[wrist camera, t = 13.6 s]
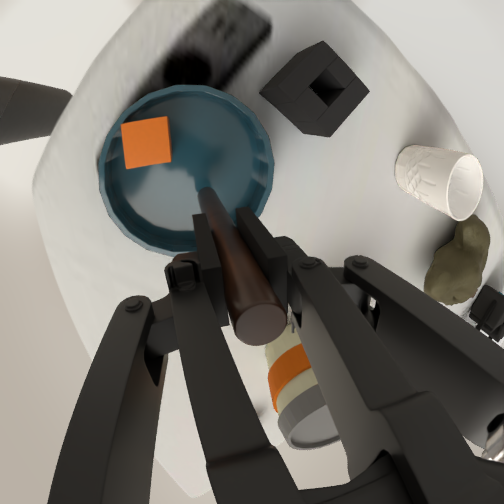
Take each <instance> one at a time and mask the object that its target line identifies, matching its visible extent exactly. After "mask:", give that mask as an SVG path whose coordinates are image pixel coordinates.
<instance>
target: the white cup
mask: <svg viewBox="0 0 504 504" xmlns="http://www.w3.org/2000/svg"><path fill="white" fill-rule="evenodd" d="M395 177H396V180H397V183H398V185H399V186H400V187H401V189H402V190H403V191H404V192H406V193H408V194H411V195H413V196H415V197H416V198H417V199H419V200H421V201H423V202H425V203H426V204H428V205H429V206H431V207H433V208H435V209H437V210H439V211H441V212H442V213H444V214H446V215H448V216H450V217H451V218H453V219H455V220H457V221H463V220H465V219H467V218H468V217H470V216H471V215H472V213H473V212H474V211H475V209H476V207H477V205H478V203H479V201H480V198H481V194H482V189H483V172H482V168H481V165H480V162H479V161H478V159H477V158H476V157H475V156H474V155H472V154H468V153H463V152H458V151H453V150H448V149H442V148H435V147H424V146H418V145H411V146H408V147H405V148H404V149H403V151H402V152H401V153H400V154H399V156H398V159H397V161H396V164H395Z"/></svg>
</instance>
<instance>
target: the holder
mask: <svg viewBox="0 0 504 504" xmlns="http://www.w3.org/2000/svg"><path fill="white" fill-rule="evenodd" d="M309 85H310V86H311V87H312V88H313V89H314V90H315V91H316V92H317V93H316V94H315V93H314V92H313V91H312V90H311V89H310V88H309V87H308V86H309ZM369 92H370V91H369V90H368V88H367V87H366V86H365V85H364V84H363V82H362V81H361V80H360V79H359V78H358V77H357V76H356V75H355V73H354V72H353V71H352V70H351V69H350V68H349V67H348V66H347V64H346V63H345V62H344V61H343V60H342V59H341V58H340V57H339V56H338V55H337V54H336V53H335V52H334V51H333V50H332V49H331V48H330V47H329V46H328V45H327V44H326V43H325V42H324V41H321V42H319V43H317V44H315V45H313V46H311V47H309V48H306V49H304V50H303V51H301V52H299V53H297V54H296V55H295V56H294V57H293V58H292V59H291V60H290V61H289V62H288V63H287V64H286V65H285V66H284V67H283V68H282V69H281V70H280V71H279V72H278V73H277V74H276V75H275V76H274V77H273V78H272V79H271V80H270V81H269V82H268V83H267V84H266V85H265V87H264V88H263V89H262V90H261V91H260V92H259V93H260V94H261V95H262V96H263V97H264V98H265V99H266V100H268V101H269V102H270V103H271V104H272V105H273V106H274V107H275V108H277V109H278V110H279V111H280V112H281V113H282V114H283V115H284V116H285V117H286V118H288V119H289V120H290V121H291V122H292V123H293V124H294V125H295V126H296V127H297V128H298V129H299V130H300V131H301V132H302V133H303V134H309V135H317V136H324V137H331V136H332V134H333V133H334V132H335V131H336V130H337V129H338V127H339V126H340V125H341V124H342V123H343V122H344V121H345V119H346V118H347V117H348V116H349V115H350V114H351V112H352V111H353V110H354V109H355V108H356V107H357V106H358V104H359V103H360V102H361V101H362V100H363V99H364V98H365V96H366V95H367V94H368V93H369Z"/></svg>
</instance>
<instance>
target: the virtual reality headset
mask: <svg viewBox="0 0 504 504" xmlns="http://www.w3.org/2000/svg"><path fill="white" fill-rule="evenodd" d="M469 317H470V318H471V319H472V320H474V321H475V322H476V323H478V325H477V326H476V327H475V328H476V329H477V330H479V331H480V329H481V330H483V331H484V332H485V333H487V334H488V335H489V337H488V338H490V339H491V340H492V338H493V339H494V340H495V341H497V342H499V341H500V339H502V338H503V336H504V295H503V294H502V293H501V292H498V291H496V290H495V289H493V288H492V287H490V286H488V285H485V286H484V287H483V289H482V291H481V292H480V294H479V296H478V298H477V300H476V301H475V303H474V305H473V306H472V308H471V312H470V314H469Z"/></svg>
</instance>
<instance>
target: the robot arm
mask: <svg viewBox="0 0 504 504" xmlns="http://www.w3.org/2000/svg"><path fill="white" fill-rule="evenodd" d="M235 209H236V219H237V229H238V231H239V232H240V234H241V236H242V238H243V239H244V241H245V243H246V244H247V246H248V248H249V249H250V251H251V253H252V254H253V256H254V258H255V260H256V261H257V263H258V265H259V266H260V268H261V270H262V271H263V273H264V275H265V276H266V278H267V280H268V281H269V283H270V285H271V286H272V288H273V290H274V292H275V293H276V295H277V297H278V298H279V300H280V302H281V303H282V305H283V307H284V308H285V310H286V312H287V313H288V303H289V305H290V307H291V308H292V321H291V331H292V333H294V329H295V328H296V331H297V333H298V335H299V338H300V340H301V343H302V345H303V348H304V350H305V352H306V355H307V357H308V360H309V362H310V365H311V367H312V370H313V372H314V374H315V377H316V379H317V382H318V384H319V387H320V389H321V392H322V394H323V397H324V399H325V402H326V404H327V407H328V409H329V412H330V414H331V417H332V419H333V421H334V424H335V426H336V429H337V431H338V434H339V437H340V439H341V442H342V444H343V447H344V449H345V452H346V455H347V460H348V473H349V477H350V480H351V481H350V482H348V483H346V484H343V485H337V486H331V487H323V488H315V489H304V490H298V488H297V486H296V484H295V482H294V480H293V478H292V477H291V474H290V473H289V470H288V468H287V466H286V465H285V463H284V461H283V459H282V457H281V455H280V453H279V451H278V450H277V449H276V447H275V446H273V445H271V443H270V442H269V440H268V438H267V436H266V433H265V431H264V429H263V427H262V425H261V423H260V420H259V418H258V416H257V414H256V411H255V409H254V407H253V405H252V402H251V400H250V398H249V395H248V393H247V391H246V388H245V386H244V384H243V381H242V379H241V377H240V374H239V372H238V369H237V367H236V365H235V362H234V360H233V357H232V355H231V352H230V350H229V347H228V345H227V342H226V340H225V337H224V335H223V332H222V330H221V327H223V326H229V325H230V324H229V317H228V310H227V306H226V303H225V299H224V290H225V289H224V282H223V275H222V267H221V264H220V260H219V257H218V254H217V250H216V247H215V244H214V241H213V237H212V234H211V230H210V227H209V224H208V220H207V217H206V213H200V214H194V215H192V218H193V225H194V232H195V239H196V246H197V251H193V252H187V253H181V254H177V255H176V256H175V257H174V258H173V260H172V262H171V263H169V264H168V265H167V266H166V267H165V270H164V271H165V276H166V280H167V284H168V288H169V294H168V295H167V296H165V297H164V298H162V299H160V300H157V301H155V302H152V303H151V300H150V299H149V298H148V297H146V296H139V295H138V296H131V297H128V298H126V299H125V300H123V301H122V302H120V304H119V305H118V306H117V308H116V310H115V312H114V314H113V316H112V319H111V321H110V323H109V325H108V327H107V330H106V332H105V334H104V336H103V338H102V341H101V343H100V345H99V348H98V350H97V352H96V355H95V357H94V359H93V362H92V364H91V367H90V369H89V372H88V374H87V377H86V379H85V382H84V385H83V387H82V390H81V393H80V395H79V398H78V400H77V403H76V406H75V409H74V411H73V415H72V418H71V420H70V423H69V426H68V429H67V433H66V436H65V439H64V442H63V445H62V449H61V452H60V455H59V459H58V462H57V466H56V470H55V473H54V477H53V481H52V485H51V489H50V494H49V498H48V503H47V504H149V499H150V487H151V477H152V467H153V458H154V450H155V441H156V434H157V426H158V419H159V412H160V405H161V399H162V393H163V386H164V380H165V374H166V369H167V363H168V353H170V352H173V351H175V350H178V349H179V352H180V357H181V362H182V366H183V371H184V376H185V380H186V385H187V389H188V394H189V398H190V402H191V406H192V410H193V414H194V418H195V422H196V426H197V430H198V434H199V437H200V441H201V444H202V448H203V451H204V455H205V459H206V469H207V474H208V477H209V481H210V484H211V487H212V490H213V493H214V496H215V499H216V502H217V504H504V349H503V348H502V347H500V346H499V345H498V344H496V343H495V342H494V341H492V340H491V339H490V338H488V337H487V336H485V335H484V334H483V333H481V332H480V331H479V330H477V329H476V328H474V327H473V326H472V325H470V324H469V323H468V322H466V321H465V320H463V319H462V318H460V317H459V316H458V315H456V314H455V313H453V312H452V311H450V310H449V309H448V308H446V307H445V306H443V305H442V304H440V303H439V302H437V301H436V300H434V299H433V298H431V297H430V296H428V295H427V294H425V293H424V292H422V291H421V290H419V289H418V288H416V287H415V286H413V285H412V284H410V283H409V282H407V281H406V280H404V279H402V278H401V277H399V276H398V275H396V274H395V273H393V272H391V271H390V270H388V269H387V268H385V267H384V266H382V265H380V264H379V263H377V262H376V261H374V260H372V259H370V258H368V257H364V256H361V255H359V256H358V255H355V256H351V257H348V258H346V259H345V261H344V267H336V268H332V267H327V265H326V264H325V263H324V262H323V261H322V260H321V259H318V258H316V257H308V256H307V255H306V254H305V253H304V252H303V250H302V249H301V248H300V247H299V246H298V245H296V243H295V242H294V241H293V240H292V239H290V238H288V237H286V236H281V237H275V238H273V236H272V235H271V234H270V233H269V231H268V230H267V229H266V228H265V226H264V225H263V224H262V223H261V221H260V220H259V219H258V218H257V216H256V215H255V214H254V213H253V211H252V210H251V209H250V208H249V206H248V207H241V208H235ZM371 297H372V298H373V299H375V300H376V304H375V308H373V307H371V306H370V300H371ZM462 435H463V436H464V437H465V438H466V439H468V440H469V441H471V442H472V443H474V444H475V445H477V446H479V447H481V448H483V449H485V450H484V451H483V453H482V458H481V457H477V456H475V455H474V454H473V452H472V450H471V449H470V447H469V445H468V444H467V443H466V441H465V439H464V437H463V436H462Z"/></svg>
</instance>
